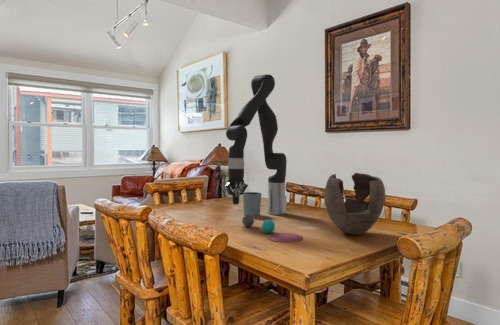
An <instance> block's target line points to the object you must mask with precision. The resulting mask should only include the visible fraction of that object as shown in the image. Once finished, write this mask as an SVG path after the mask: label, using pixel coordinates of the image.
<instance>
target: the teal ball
mask: <svg viewBox="0 0 500 325" xmlns="http://www.w3.org/2000/svg"><path fill="white" fill-rule="evenodd" d="M261 228H262V231H263V232H265V233H267V234H272V233H273V232H274V230H275V229H276V225H275V222H274V221H273V220H271V219H266V220H264V221H263V222H262V223H261Z"/></svg>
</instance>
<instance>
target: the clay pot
mask: <svg viewBox="0 0 500 325" xmlns="http://www.w3.org/2000/svg"><path fill="white" fill-rule="evenodd" d="M351 179H352V182H353V185H354V186H353V190H354V198H352V197H347V198H346V199H345V197H344V191H345V189H344V181H343V180H342V179H341V178H337V174H336V173H334V174H332V175H331V174H330V175H329V177H328V179H327V181H326V184H325V187H324V198H323V200H324V204H325V208H326V212H327V215H328V216H329V219H330V221H331V222H332V223H333V224H334V225H335V227H337V228H338V229H339V230H340V231H341V232H343V233H345V234H347V235H351V236H353V235H354V236H359V235H363V234H366V233H367V232H369V230H370V229H371V228H372V227H373V226H374V225H375V223H377V222H378V221H377V220H378V219H379V217H380V216H381V214H382V212H383V210H384V209H383V208H384V207H385V202H386V188H385V185H384V183H383V180H382V179H381V178H380V177H378V176H375V175H374V176H373V175H371V174H368V173H367V174H366V173H362V172H361V173H358V172H354V173H353V174H352V175H351ZM367 198H368V202H367V201H365V200H366V199H367Z"/></svg>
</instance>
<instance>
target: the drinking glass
mask: <svg viewBox="0 0 500 325" xmlns="http://www.w3.org/2000/svg"><path fill="white" fill-rule="evenodd" d="M262 194H263V193H262V192H259V191H258V192H257V191H244V193H243V195H242V206H243V217H244V216H245V215H251V216H253V218H257V217H260V216H261V203H262Z"/></svg>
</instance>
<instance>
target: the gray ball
mask: <svg viewBox="0 0 500 325" xmlns="http://www.w3.org/2000/svg"><path fill="white" fill-rule="evenodd" d="M241 222H242V224H243V226H244V227H246V228H250V227H252V226H253V225H254V223H255V217H253V216H251V215H245V216H244V215H243V217H242V219H241Z"/></svg>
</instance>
